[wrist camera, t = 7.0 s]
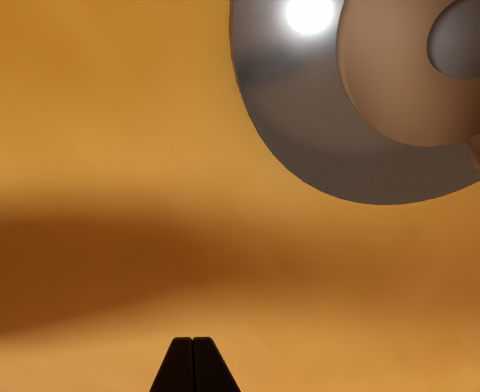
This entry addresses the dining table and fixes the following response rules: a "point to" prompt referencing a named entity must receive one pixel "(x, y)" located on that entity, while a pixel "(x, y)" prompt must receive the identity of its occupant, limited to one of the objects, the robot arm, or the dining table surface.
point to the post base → (327, 110)
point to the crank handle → (414, 69)
